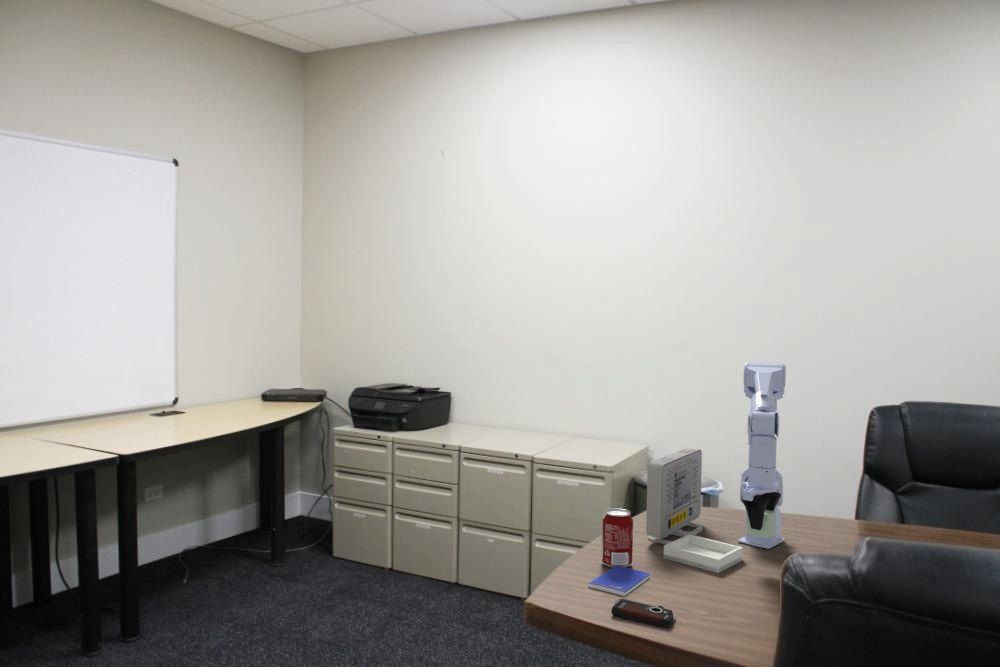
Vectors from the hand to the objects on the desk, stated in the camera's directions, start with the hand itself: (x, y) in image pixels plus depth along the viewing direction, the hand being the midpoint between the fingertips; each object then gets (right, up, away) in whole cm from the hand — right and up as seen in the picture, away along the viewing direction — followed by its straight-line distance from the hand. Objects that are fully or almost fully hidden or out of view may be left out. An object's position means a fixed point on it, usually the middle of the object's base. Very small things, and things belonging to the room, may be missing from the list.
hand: (760, 526), depth 169 cm
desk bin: (-11, -9, +6) cm, 16 cm away
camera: (-30, -11, -26) cm, 41 cm away
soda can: (-31, -9, +2) cm, 33 cm away
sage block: (0, -2, 0) cm, 2 cm away
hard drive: (-32, -10, -8) cm, 35 cm away
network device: (-13, -8, +25) cm, 30 cm away
